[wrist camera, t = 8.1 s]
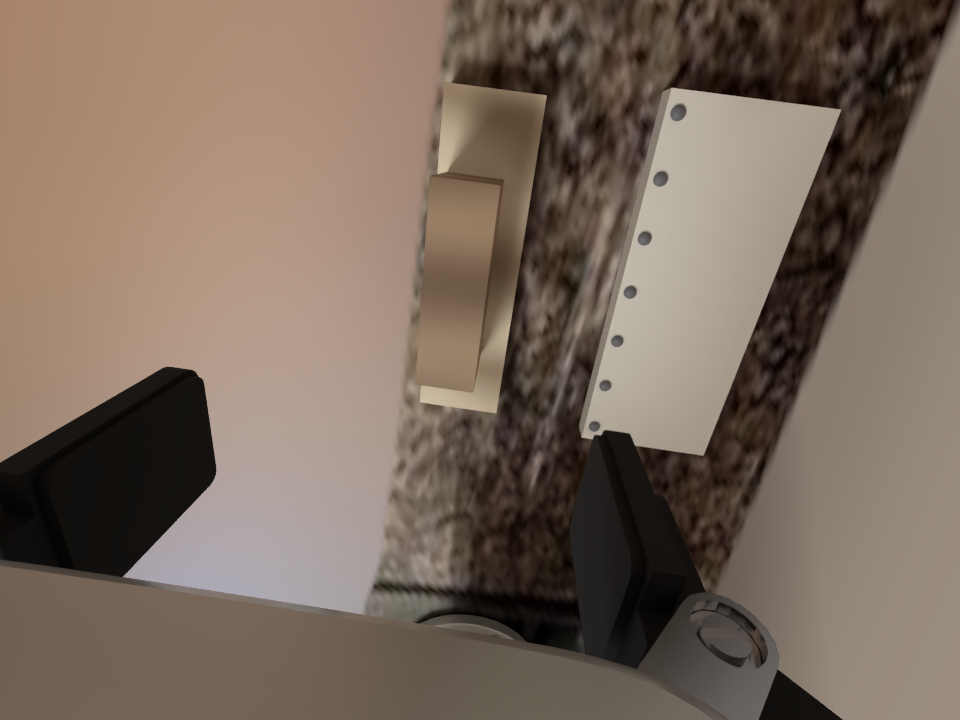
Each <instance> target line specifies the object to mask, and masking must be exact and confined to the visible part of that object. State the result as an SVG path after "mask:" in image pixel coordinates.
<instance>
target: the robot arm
mask: <svg viewBox="0 0 960 720" xmlns="http://www.w3.org/2000/svg"><path fill="white" fill-rule="evenodd" d="M215 475H216V464H215V457H214V449H213V443H212V435H211V429H210V421H209V415H208V407H207V400H206V394H205V387H204V382H203V380H202V378H200V377H198V375H197V373H196V372H195V371H193V370H188V369H181V368H174V367H165V368H162V369H161V370H159V371H157V372H155V373H154V374H152V375H150V376H148V377H147V378H145V379H143V380H142V381H140V382H138V383H137V384H135V385H133V386H131V387H130V388H128V389H126V390H124V391H123V392H121V393H119V394H118V395H116V396H115V397H112V398H111V399H109V400H108V401H106V402H104V403H102V404H100V405H99V406H97V407H95V408H93V409H92V410H90V411H88V412H87V413H85V414H84V415H82V416H80V417H78V418H76V419H75V420H73V421H71V422H69V423H68V424H66V425H64V426H63V427H61V428H59V429H57V430H56V431H54V432H52V433H51V434H49V435H47V436H45V437H44V438H42V439H40V440H38V441H37V442H35V443H33V444H32V445H30V446H28V447H27V448H25V449H23V450H21V451H20V452H18V453H16V454H14V455H13V456H11V457H9V458H8V459H6V460H4V461H3V462H1V463H0V720H842V719H841V718H840V717H838V716H837V715H836V714H835V713H833V712H832V711H831V710H829V709H828V708H827V707H826V706H824V705H823V704H822V703H820V702H819V701H818V700H817V699H815V698H814V697H813V696H811V695H810V694H809V693H807V692H806V691H805V690H803V689H802V688H801V687H800V686H798V685H797V684H796V683H794V682H793V681H792V680H791V679H789V678H788V677H787V676H785V675H784V674H782V672H780V671H779V670H778V663H779V654H778V650H777V647H776V644H775V641H774V640H773V638H772V636H771V635H770V633H769V632H768V630H767V628H766V627H765V626H764V625H763V624H762V623H761V622H760V621H759V620H758V619H757V618H756V616H754V615H753V614H752V613H751V612H749V611H748V610H747V609H745V608H744V607H743V606H741V605H739V604H737V603H736V602H734V601H732V600H730V599H729V598H726V597H723V596H720V595H717V594H714V593H706V591H705V589H704V587H703V584H702V582H701V580H700V577H699V575H698V573H697V570H696V568H695V566H694V564H693V561H692V559H691V557H690V554H689V552H688V550H687V547H686V545H685V543H684V540H683V538H682V536H681V533H680V531H679V529H678V526H677V524H676V522H675V520H674V517H673V515H672V513H671V510H670V508H669V506H668V503H667V501H666V500H665V498H664V497H663V496H662V495H658V494H654V491H653V489H652V487H651V484H650V482H649V479H648V477H647V474H646V472H645V469H644V467H643V464H642V462H641V459H640V457H639V454H638V452H637V449H636V447H635V445H634V442H633V440H632V437H631V435H630V434H629V433H624V432H617V431H610V430H604V431H603V433H602V435H594V437H593V440H592V443H591V447H590V451H589V455H588V459H587V463H586V466H585V470H584V474H583V478H582V482H581V486H580V489H579V493H578V497H577V501H576V505H575V508H574V512H573V516H572V520H571V525H570V543H571V550H572V558H573V565H574V573H575V580H576V588H577V595H578V603H579V610H580V618H581V625H582V633H583V640H584V648H585V654H581V653H577V652H572V651H568V650H564V649H559V648H555V647H550V646H544V645H539V644H533V643H528V642H526V641H525V640H524V639H523V638H522V637H521V636H520V635H519V634H518V633H517V632H515V631H514V630H512V629H511V628H509V627H508V626H506V625H503V624H501V623H499V622H497V621H494V620H491V619H488V618H485V617H480V616H474V615H464V614H453V615H443V616H439V617H435V618H431V619H429V620H427V621H424V622H422V623H420V624H417V623H411V622H405V621H399V620H393V619H387V618H380V617H374V616H368V615H362V614H356V613H350V612H344V611H337V610H331V609H324V608H318V607H312V606H306V605H299V604H293V603H287V602H280V601H274V600H268V599H261V598H255V597H248V596H242V595H235V594H229V593H223V592H216V591H209V590H204V589H197V588H190V587H184V586H178V585H171V584H164V583H158V582H151V581H144V580H138V579H131V578H125V577H123V576H124V575H125V574H126V573H127V572H128V571H129V570H130V569H131V568H132V567H133V566H134V564H135V563H136V562H137V561H138V560H139V559H140V558H141V557H142V556H143V555H144V554H145V553H146V552H147V551H148V550H149V549H150V548H151V547H152V546H153V545H154V543H155V542H156V541H157V540H158V539H159V538H160V537H161V536H162V535H163V534H164V533H165V532H166V531H167V530H168V529H169V528H170V527H171V526H172V525H173V524H174V523H175V521H176V520H177V519H178V518H179V517H180V516H181V515H182V514H183V513H184V512H185V511H186V510H187V509H188V508H189V507H190V506H191V505H192V504H193V503H194V501H196V499H197V498H198V497H199V496H200V495H201V494H202V493H203V492H204V491H205V490H206V489H207V488H208V487H209V486H210V485H211V483H212V482H213V480H214V478H215Z"/></svg>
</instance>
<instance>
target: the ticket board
mask: <svg viewBox="0 0 960 720" xmlns="http://www.w3.org/2000/svg"><path fill="white" fill-rule="evenodd" d="M840 112H841V110H840V109H832V108H824V107H816V106H809V105H801V104H793V103H786V102H778V101H770V100H763V99H755V98H747V97H739V96H732V95H724V94H716V93H709V92H701V91H693V90H686V89H678V88H670V89H668V90H665V91H663V92H662V96H661V100H660V104H659V108H658V112H657V116H656V120H655V124H654V128H653V132H652V136H651V140H650V144H649V148H648V152H647V156H646V160H645V164H644V168H643V172H642V176H641V180H640V184H639V188H638V192H637V196H636V200H635V204H634V208H633V212H632V216H631V220H630V224H629V228H628V232H627V236H626V240H625V244H624V248H623V252H622V256H621V260H620V264H619V268H618V272H617V276H616V280H615V284H614V288H613V292H612V296H611V300H610V304H609V308H608V312H607V316H606V320H605V324H604V328H603V332H602V335H601V339H600V343H599V347H598V351H597V355H596V359H595V363H594V367H593V371H592V375H591V379H590V383H589V387H588V391H587V395H586V399H585V403H584V407H583V411H582V415H581V419H580V423H579V428H580V432H581V437H582V438H587V439H593V437H594V435H602V433H603V431H604V430H610V431H617V432H624V433H629V434H630V435H631V437H632V440H633V442H634V445H635V446H641V447H648V448H655V449H662V450H668V451H675V452H682V453H689V454H696V455H702V456H704V453H705V451H706V448H707V446H708V443H709V441H710V438H711V436H712V433H713V430H714V428H715V425H716V423H717V420H718V418H719V415H720V413H721V410H722V408H723V405H724V403H725V400H726V398H727V395H728V393H729V390H730V388H731V385H732V383H733V380H734V378H735V375H736V373H737V370H738V368H739V365H740V363H741V360H742V358H743V355H744V353H745V350H746V348H747V345H748V343H749V340H750V338H751V335H752V333H753V330H754V328H755V325H756V323H757V320H758V318H759V315H760V313H761V310H762V308H763V305H764V303H765V300H766V298H767V295H768V293H769V290H770V288H771V285H772V283H773V280H774V278H775V275H776V272H777V270H778V267H779V265H780V262H781V260H782V257H783V255H784V252H785V250H786V247H787V245H788V242H789V240H790V237H791V235H792V232H793V230H794V227H795V225H796V222H797V220H798V217H799V215H800V212H801V210H802V207H803V205H804V202H805V200H806V197H807V195H808V192H809V190H810V187H811V185H812V182H813V180H814V177H815V175H816V172H817V170H818V167H819V165H820V162H821V160H822V157H823V155H824V152H825V150H826V147H827V145H828V142H829V140H830V137H831V135H832V132H833V130H834V127H835V125H836V122H837V120H838V117H839V114H840Z"/></svg>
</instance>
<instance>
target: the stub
mask: <svg viewBox="0 0 960 720" xmlns="http://www.w3.org/2000/svg"><path fill="white" fill-rule="evenodd" d="M546 98H547V95H540V94H532V93H525V92H517V91H510V90H502V89H494V88H487V87H479V86H471V85H464V84H456V83H448V82H444V95H443V108H442V121H441V134H440V147H439V160H438V173H437V174H436V175H432V176H430V183H429V197H428V212H427V226H426V240H425V254H424V268H423V283H422V297H421V311H420V325H419V339H418V354H417V368H416V382H415V384H416V385H421V395H420V402H422V403H428V404H435V405H442V406H449V407H456V408H462V409H469V410H476V411H483V412H490V413H496V412H497V406H498V399H499V393H500V387H501V380H502V374H503V368H504V362H505V355H506V349H507V343H508V336H509V330H510V324H511V318H512V311H513V305H514V299H515V292H516V286H517V280H518V274H519V267H520V261H521V255H522V248H523V242H524V236H525V230H526V223H527V217H528V211H529V204H530V198H531V192H532V186H533V179H534V173H535V167H536V160H537V154H538V148H539V142H540V135H541V129H542V123H543V116H544V110H545V104H546Z"/></svg>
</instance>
